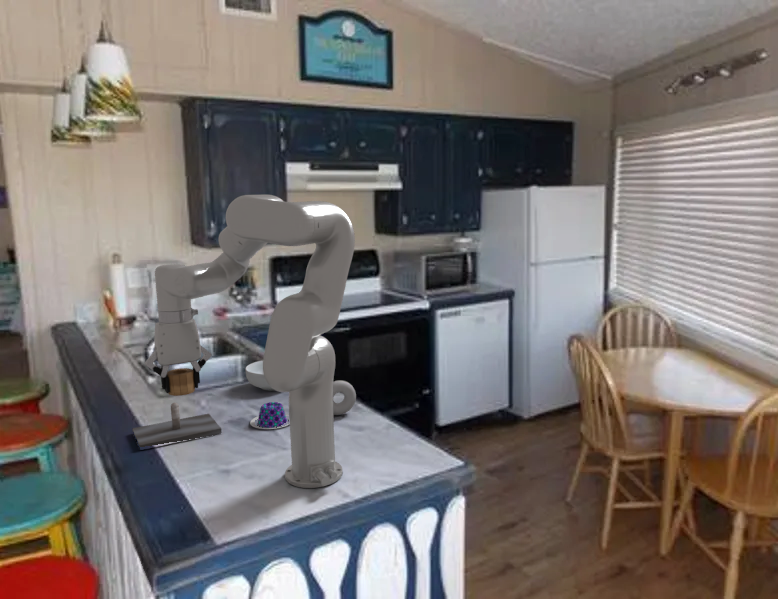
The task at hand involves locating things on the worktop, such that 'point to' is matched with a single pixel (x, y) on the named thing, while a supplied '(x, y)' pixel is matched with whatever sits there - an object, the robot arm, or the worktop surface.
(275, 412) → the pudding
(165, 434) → the needle stand
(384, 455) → the worktop surface
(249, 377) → the cereal bowl
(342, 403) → the donut
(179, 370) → the bead
